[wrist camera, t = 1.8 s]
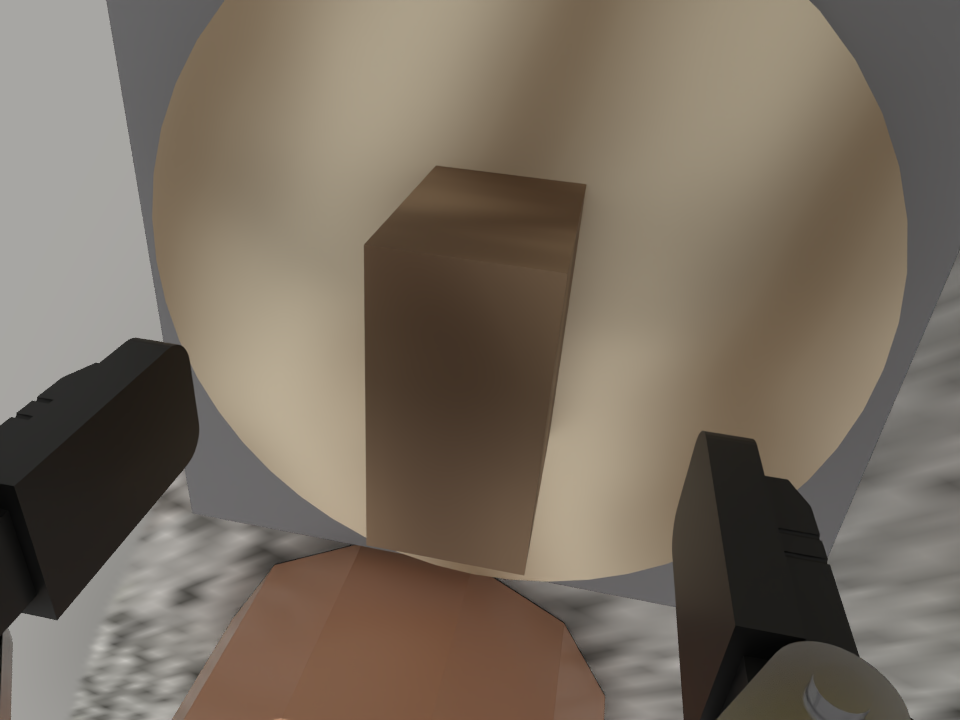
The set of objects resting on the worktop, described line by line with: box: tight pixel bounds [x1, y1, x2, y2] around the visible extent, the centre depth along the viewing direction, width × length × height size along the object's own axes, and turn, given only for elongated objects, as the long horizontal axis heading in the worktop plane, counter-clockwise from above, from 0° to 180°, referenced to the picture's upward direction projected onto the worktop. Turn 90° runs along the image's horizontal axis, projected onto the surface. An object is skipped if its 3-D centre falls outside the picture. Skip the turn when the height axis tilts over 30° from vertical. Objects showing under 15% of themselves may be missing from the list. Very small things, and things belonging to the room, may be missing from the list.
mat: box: [106, 0, 960, 607], centre depth 17 cm, size 18×18×1 cm
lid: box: [152, 0, 907, 582], centre depth 14 cm, size 16×16×6 cm
